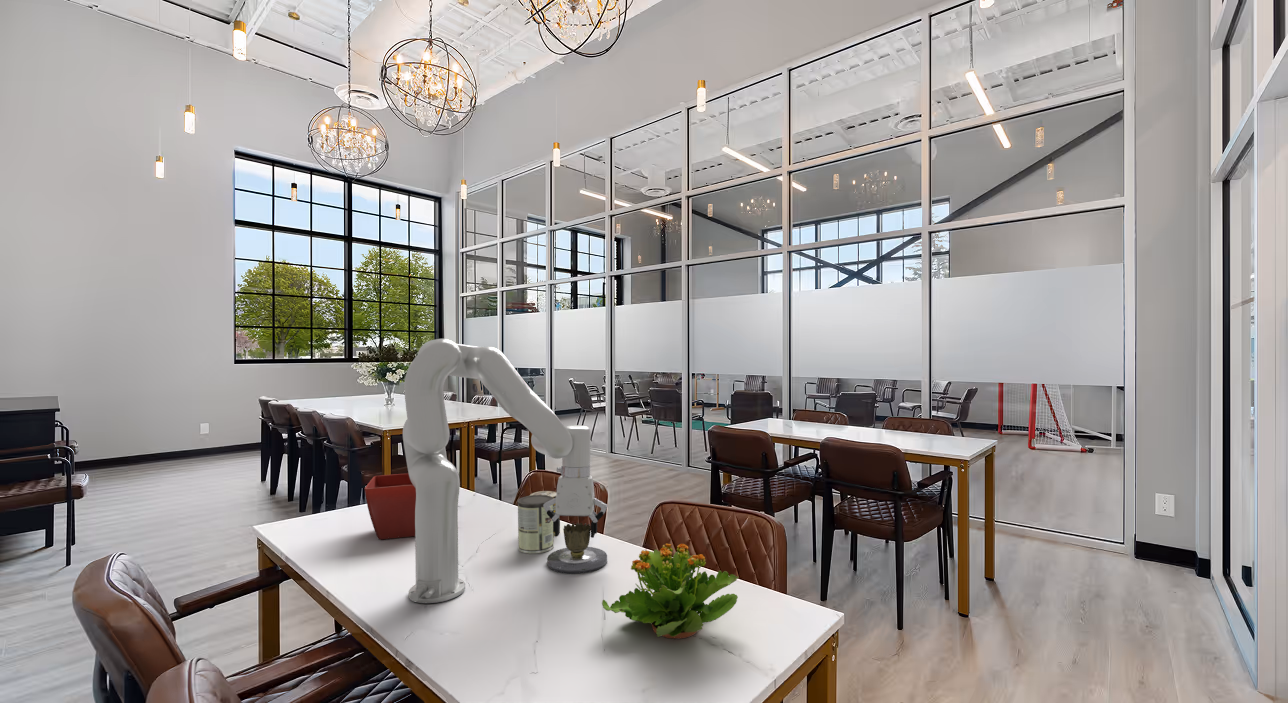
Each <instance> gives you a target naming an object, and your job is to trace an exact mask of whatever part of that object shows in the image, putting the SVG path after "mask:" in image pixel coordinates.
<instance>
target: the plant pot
mask: <svg viewBox="0 0 1288 703" xmlns="http://www.w3.org/2000/svg"><path fill="white" fill-rule="evenodd" d="M364 496H365V500H366V505H367V509H368V515H369V517H370V520H371V521H370V522H371V524H372V527H373V529H374V532H375V535H376V537H377V539H378V540H389V539H397V538H399V539H400V538H408V537H415V506H416V488H415V487H414V486H413V484H412V482H411V480H410V477H409V473H408V472H407V473H398V474H397V473H395V474H383V475H382V474H381V475H375V476H373V477H372V478H371V479H370V480H369V482H368V483H367V485H366V486H365V487H364Z"/></svg>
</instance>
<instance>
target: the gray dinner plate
mask: <svg viewBox="0 0 1288 703" xmlns="http://www.w3.org/2000/svg"><path fill="white" fill-rule="evenodd" d="M570 553H571V551H570V550H568V549H567V547H564V548H560V549H557V550H554V551H552V552H551V553H550V554H548V556H547V557H546V558H547V559H546V564H547V567H548V569H549V570H551V571H553V572H556V573H560V574H565V575H570V574H571V575H579V574H587V573H592V572H595V571H597V570H600V569H602V568H604V567H605V566H606V565H607V564H608V554H607V552H606V551H604V550H603V549H600V548H598V547H595V546H593V547H592V546H588V547H587V548H586V549H585V550H584V555H583V556H582V557H579V558H575V557H572V556H571V554H570Z"/></svg>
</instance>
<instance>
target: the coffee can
mask: <svg viewBox="0 0 1288 703" xmlns="http://www.w3.org/2000/svg"><path fill="white" fill-rule="evenodd" d="M552 499H553V497H551V496H547V495H531V496H530V495H527V496H523V497H520V498H518V499H517V528H518V530H517V531H518V532H517V533H518V538H517V539H518V547H517V550H518V551H519V552H520V553H523V554H529V555H531V554H543V553H547V552H549V551H551V550H553V549H554V546H555V543H554V537H555V536H553V521H552V519H551V518H550V517H549V516H548V515H547V512H546V511H545V509H544V506H543V505H544V503H546V502H548V501H550V500H552ZM550 508H551V510H552V511H553V505H551V506H550Z"/></svg>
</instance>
